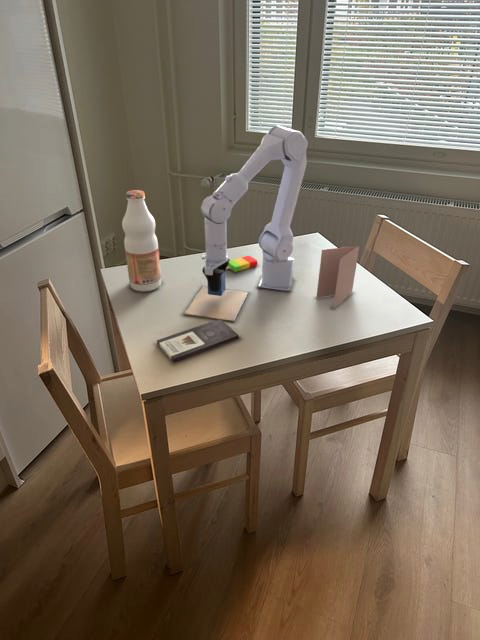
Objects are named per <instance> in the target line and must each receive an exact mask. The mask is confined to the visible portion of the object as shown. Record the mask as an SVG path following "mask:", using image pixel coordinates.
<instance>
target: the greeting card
mask: <svg viewBox="0 0 480 640" xmlns="http://www.w3.org/2000/svg"><path fill="white" fill-rule="evenodd" d="M359 252H360V244H359V245H352V246H343V247H336V248H335V247H334V248H325V249H321V255H320V264H319V270H318V271H319V272H318V281H317V289H316V299H320V298H325V297H327V298H328V297H333V296H334V297H333V298H334V299H333V306H332V308H333V309H335V308H336V307H337V306H338V305H339V304H341V302H343V301H344V300H345V299H347V298H348V297H349V296H350V295H351V294H353V288H354V283H355V276H356V269H357V265H358V258H359Z"/></svg>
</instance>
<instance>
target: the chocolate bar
mask: <svg viewBox="0 0 480 640" xmlns="http://www.w3.org/2000/svg"><path fill="white" fill-rule="evenodd" d="M239 338H240V335H239V334H238V332H236V331H235V330H234V329H233V328H232V327H230V326H229V325H228V324H227V323H226V322H224V320H221V319H214V320H212V321H210V322H206V323H203V324H201V325H198V326H194V327H192V328H189V329H185V330H183V331H180V332H177V333H174V334H171V335H168V336H165V337H163V338H159V339H157V340H156V344H157V345H158V346H159V347H160V349H162V351H163V352H164V353H165V354H166V355H167V356H168V358H169V359H170V360H171V361H172V362H173V363H177V362H179V361H181V360H185V359H188V358H189V357H192V356H195V355H198V354H201V353H203V352H206V351H209V350H211V349H214V348H216V347H219V346H222V345H224V344H227V343H230V342H232V341H235V340H238V339H239Z"/></svg>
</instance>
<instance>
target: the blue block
mask: <svg viewBox="0 0 480 640" xmlns="http://www.w3.org/2000/svg"><path fill="white" fill-rule="evenodd" d="M207 287H208V294H209V295H217V296H222V294H223V293H224V291H225V289H226V272H225V271H223V273H222V275H221V278H220V285H219V290H218V292H215V291H211V290H210V287H209V284H208V283H207Z"/></svg>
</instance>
